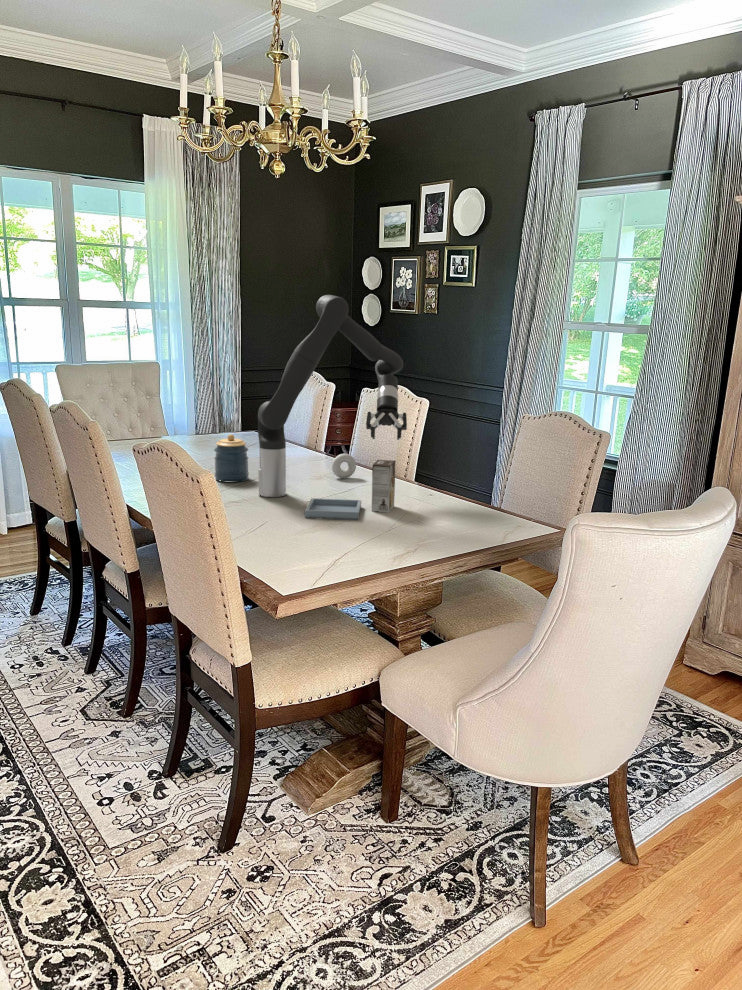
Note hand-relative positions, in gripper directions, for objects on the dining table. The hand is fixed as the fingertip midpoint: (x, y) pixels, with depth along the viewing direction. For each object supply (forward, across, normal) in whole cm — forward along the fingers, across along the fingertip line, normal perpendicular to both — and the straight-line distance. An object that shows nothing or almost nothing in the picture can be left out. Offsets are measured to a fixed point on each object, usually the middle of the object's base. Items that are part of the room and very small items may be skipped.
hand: (385, 438), depth 260 cm
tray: (+29, -16, +2) cm, 33 cm away
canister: (-2, -60, +32) cm, 68 cm away
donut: (-7, -17, +38) cm, 43 cm away
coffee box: (+24, 0, +7) cm, 25 cm away
